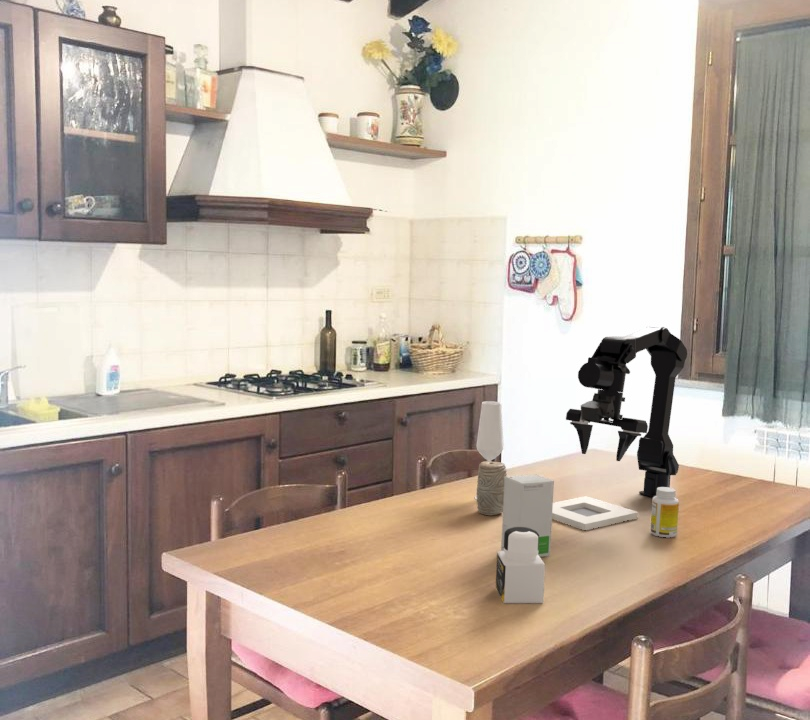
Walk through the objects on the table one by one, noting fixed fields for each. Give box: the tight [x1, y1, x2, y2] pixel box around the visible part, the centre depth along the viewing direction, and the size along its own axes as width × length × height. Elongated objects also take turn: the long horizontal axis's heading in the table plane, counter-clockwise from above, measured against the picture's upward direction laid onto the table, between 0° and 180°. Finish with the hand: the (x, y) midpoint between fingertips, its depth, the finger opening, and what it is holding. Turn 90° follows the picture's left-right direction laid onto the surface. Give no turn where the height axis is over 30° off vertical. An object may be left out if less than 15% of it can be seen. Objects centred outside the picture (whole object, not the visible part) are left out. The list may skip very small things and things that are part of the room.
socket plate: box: [552, 495, 639, 531], centre depth 205 cm, size 18×16×2 cm
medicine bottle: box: [495, 527, 546, 604], centre depth 154 cm, size 7×7×12 cm
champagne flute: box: [474, 400, 504, 500], centre depth 216 cm, size 7×7×24 cm
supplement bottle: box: [650, 487, 680, 539], centre depth 192 cm, size 6×6×10 cm
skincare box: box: [500, 474, 555, 558], centre depth 177 cm, size 8×7×16 cm
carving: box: [476, 460, 508, 517], centre depth 204 cm, size 6×8×12 cm
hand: (600, 457), depth 204 cm, fingers open, 9 cm apart
